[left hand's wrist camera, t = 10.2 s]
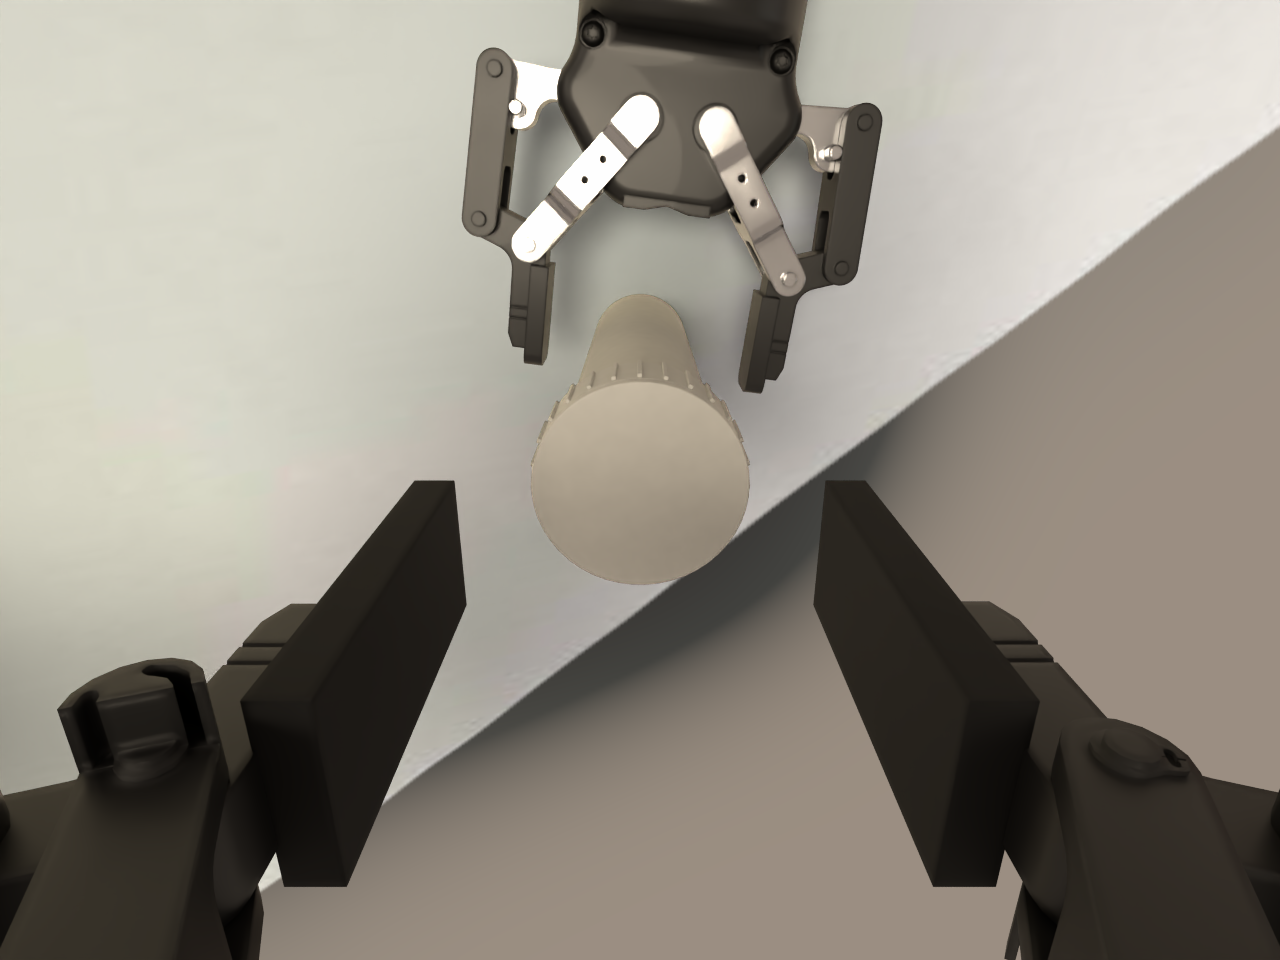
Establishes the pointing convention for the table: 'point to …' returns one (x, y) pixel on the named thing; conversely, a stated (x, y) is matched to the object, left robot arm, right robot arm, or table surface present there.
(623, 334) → the cream cylindrical bottle
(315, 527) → the table surface
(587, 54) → the right robot arm
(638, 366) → the lid
